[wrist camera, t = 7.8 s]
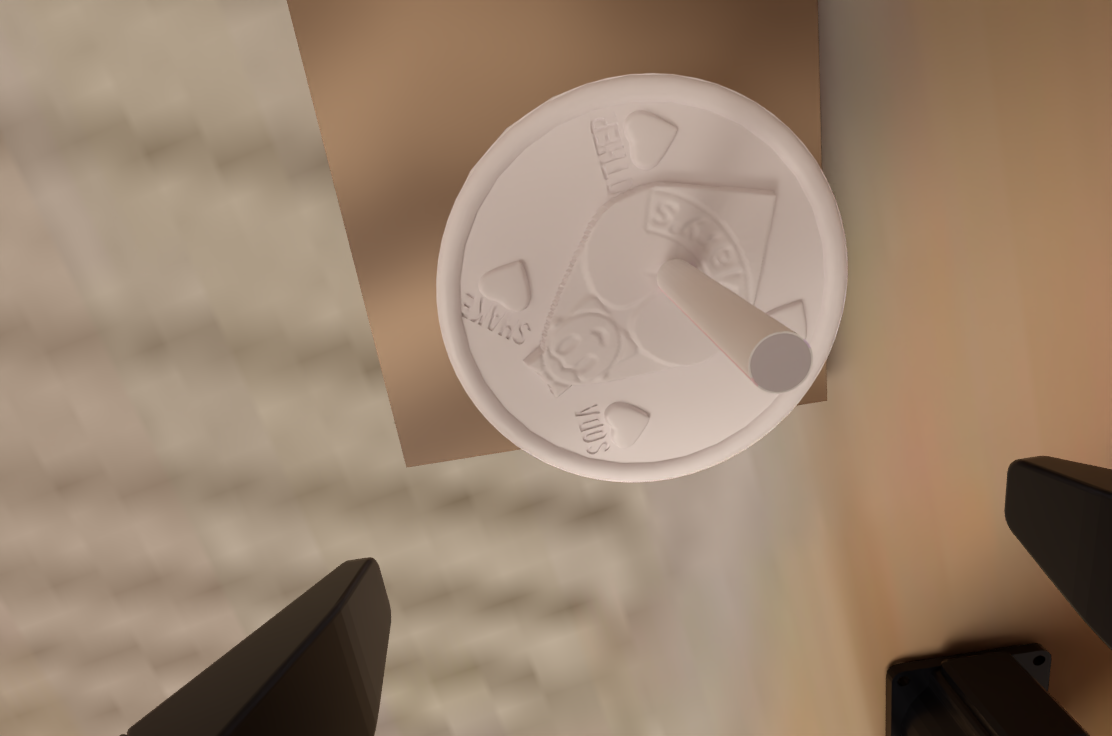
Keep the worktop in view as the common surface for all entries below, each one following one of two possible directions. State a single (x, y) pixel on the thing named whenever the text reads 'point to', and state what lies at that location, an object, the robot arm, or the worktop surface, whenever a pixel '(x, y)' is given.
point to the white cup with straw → (641, 277)
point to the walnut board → (477, 122)
